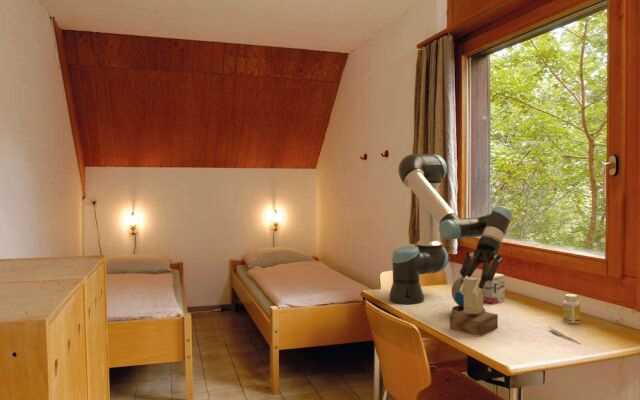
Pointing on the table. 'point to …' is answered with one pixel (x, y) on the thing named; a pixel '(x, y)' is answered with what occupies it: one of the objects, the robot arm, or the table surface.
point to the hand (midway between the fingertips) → (468, 293)
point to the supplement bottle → (571, 309)
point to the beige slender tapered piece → (563, 334)
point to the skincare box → (472, 296)
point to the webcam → (461, 296)
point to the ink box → (495, 289)
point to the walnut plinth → (474, 322)
